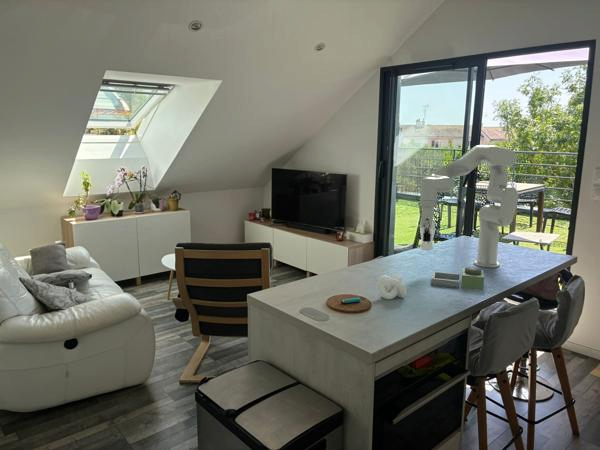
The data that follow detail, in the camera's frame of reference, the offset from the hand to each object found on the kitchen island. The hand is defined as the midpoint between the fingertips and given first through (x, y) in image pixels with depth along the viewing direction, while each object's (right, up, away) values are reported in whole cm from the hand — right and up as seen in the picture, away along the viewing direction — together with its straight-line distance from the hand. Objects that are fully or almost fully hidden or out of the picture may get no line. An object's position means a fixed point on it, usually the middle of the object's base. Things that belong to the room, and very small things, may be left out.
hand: (427, 239), depth 227 cm
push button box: (+10, -20, -12) cm, 26 cm away
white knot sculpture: (-22, -24, -30) cm, 44 cm away
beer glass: (0, -5, +1) cm, 5 cm away
